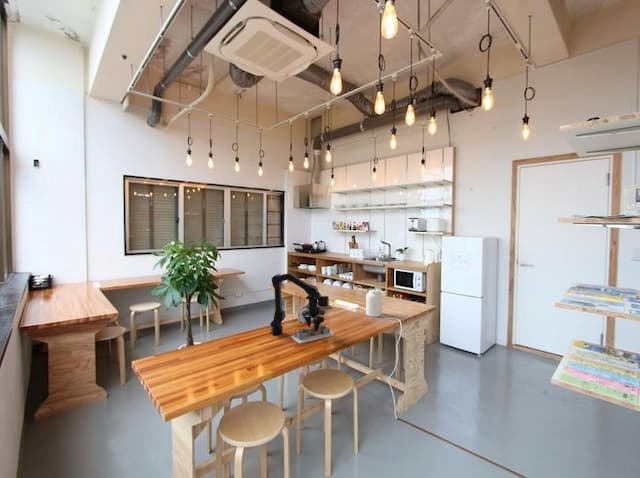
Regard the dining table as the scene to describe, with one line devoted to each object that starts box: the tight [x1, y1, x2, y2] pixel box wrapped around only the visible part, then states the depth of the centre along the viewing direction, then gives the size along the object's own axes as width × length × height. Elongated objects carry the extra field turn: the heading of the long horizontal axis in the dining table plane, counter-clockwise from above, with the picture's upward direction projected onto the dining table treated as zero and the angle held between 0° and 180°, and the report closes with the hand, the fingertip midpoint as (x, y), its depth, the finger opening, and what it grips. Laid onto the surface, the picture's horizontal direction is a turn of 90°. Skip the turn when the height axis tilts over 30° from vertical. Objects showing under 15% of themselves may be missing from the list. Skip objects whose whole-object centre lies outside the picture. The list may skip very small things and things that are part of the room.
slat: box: [298, 324, 327, 337], centre depth 198 cm, size 18×3×5 cm, turn 120°
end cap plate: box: [290, 325, 335, 345], centre depth 198 cm, size 26×12×4 cm, turn 123°
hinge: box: [296, 307, 313, 324], centre depth 232 cm, size 17×5×10 cm, turn 133°
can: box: [365, 289, 383, 318], centre depth 246 cm, size 12×12×20 cm
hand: (312, 329), depth 198 cm, fingers open, 9 cm apart
